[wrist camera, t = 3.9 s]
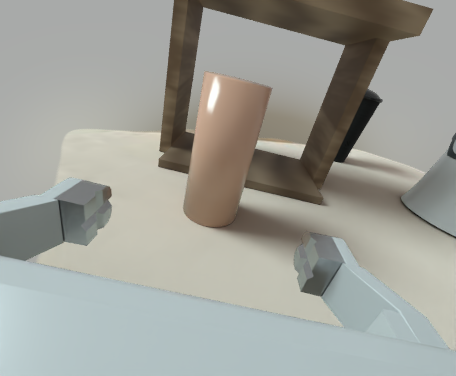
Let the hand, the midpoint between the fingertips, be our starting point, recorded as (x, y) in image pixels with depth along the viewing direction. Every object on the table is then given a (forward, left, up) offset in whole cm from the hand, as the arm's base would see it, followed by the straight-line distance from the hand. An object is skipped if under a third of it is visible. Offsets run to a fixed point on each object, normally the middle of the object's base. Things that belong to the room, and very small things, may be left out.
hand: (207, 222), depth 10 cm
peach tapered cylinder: (0, -11, -7) cm, 13 cm away
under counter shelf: (-3, -25, -7) cm, 27 cm away
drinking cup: (-24, -43, -7) cm, 50 cm away
